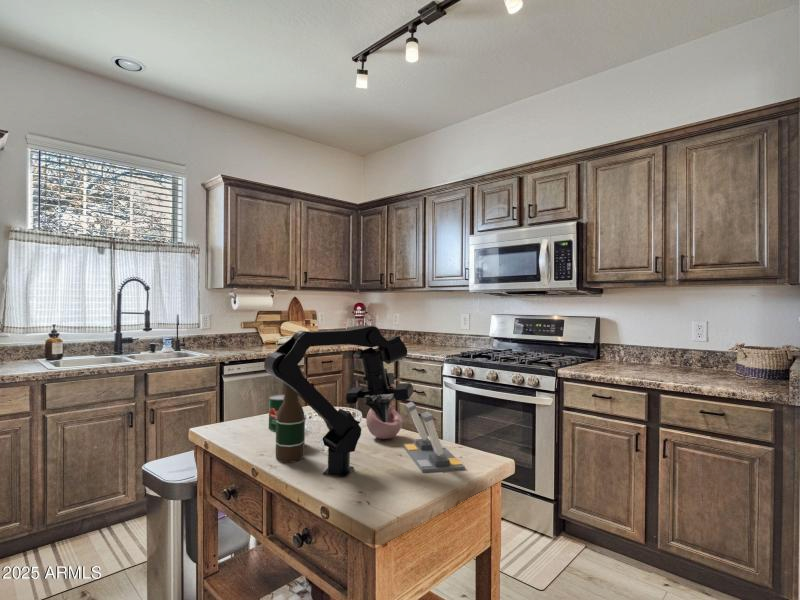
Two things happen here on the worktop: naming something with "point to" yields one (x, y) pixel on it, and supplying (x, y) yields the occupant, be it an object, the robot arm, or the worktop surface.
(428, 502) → the worktop surface
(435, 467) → the switch base
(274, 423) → the canned tomato
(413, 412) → the lever rear
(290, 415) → the beer bottle
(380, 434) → the mortar and pestle
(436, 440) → the lever front
